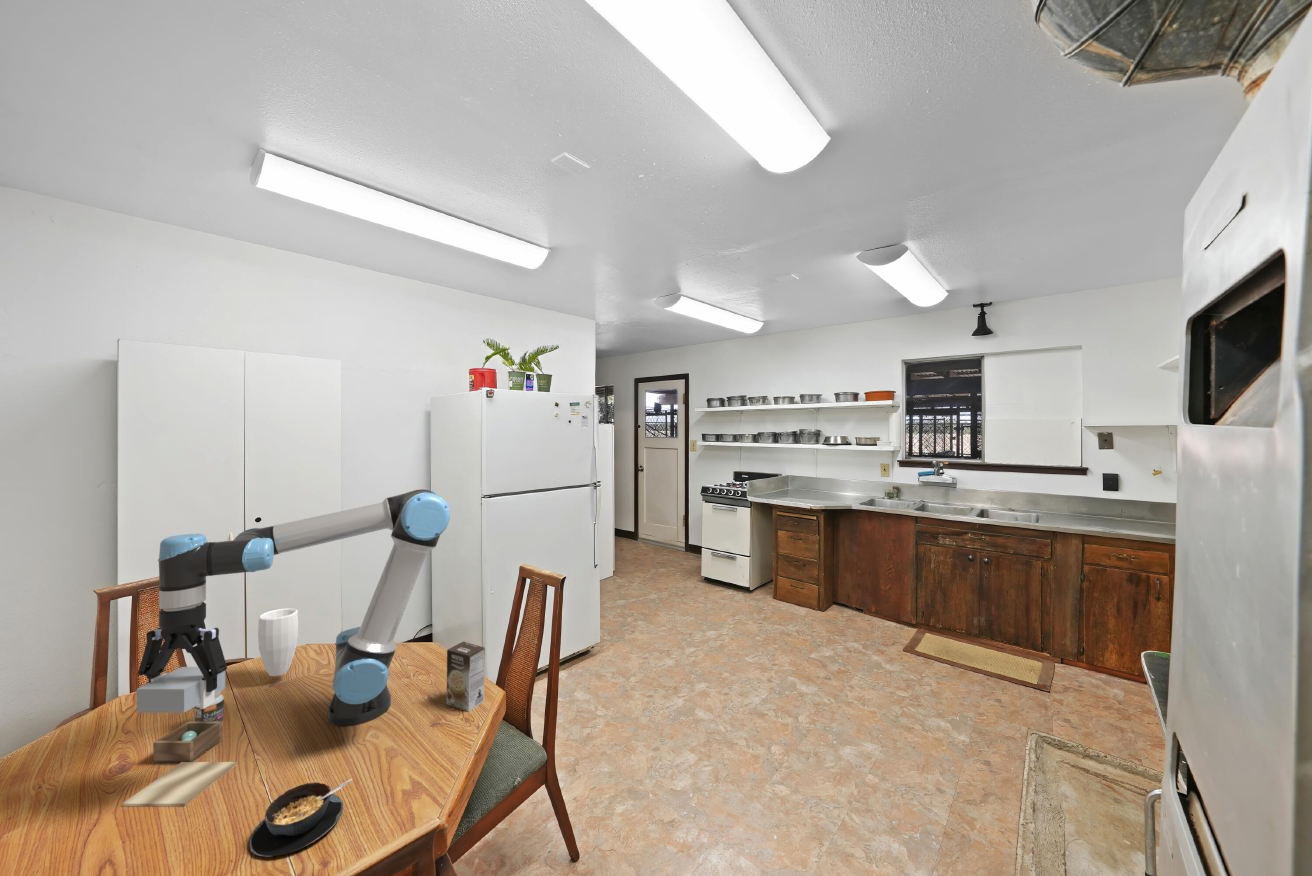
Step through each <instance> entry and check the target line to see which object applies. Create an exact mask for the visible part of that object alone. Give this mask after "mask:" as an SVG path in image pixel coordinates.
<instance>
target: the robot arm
mask: <svg viewBox="0 0 1312 876" xmlns="http://www.w3.org/2000/svg"><path fill="white" fill-rule="evenodd" d="M450 518H451V512H450V507H449V505H448V503H447V501H445V499H443V498H442V497H441V496H440V495H438V494H437V493H435V492H434V491H432V490H428V489H415V490H412V491H408V492H405V493H401V494H398V495H393V496H389V497H385V498H384V500H383V501H382V502H378V503H373V504H369V505H364V506H359V507H355V508H350V509H347V510H346V509H345V510H340V511H336V512H332V513H331V512H330V513H326V514H323V515H317V516H313V517H309V518H308V517H307V518H303V519H299V520H294V521H293V520H292V521H289V522H284V523H281V524H279V523H278V524H274V525H272V526H271V525H270V526H266V527H262V528H261V527H260V528H259V527H253V528H252V527H251V528H248V529H246V530H243V531H242V532H241V533H238V535H236V537H234V538H233V540H224V541H213V542H212V541H208V539H207V536H206V534H202V533H185V534H178V535H172V536H168V537H165V538H163V540H161V541H160V543H159V554H158V560H157V562H158V575H159V576H158V577H159V578H158V579H159V580H158V582H159V585H158V588H159V589H158V590H159V591H158V593H159V594H158V608H160V611H159V612H158V626H159V627H157V628H154V629H152V630H149V631H148V632H146V643H145V648H144V651H143V653H142V658H141V661H140V664H139V668H138V671H137V674H138V675H139V676H146V678H147V680H148V683H150V682H152V681H154V680H156V679H158V678H160V677H162V676H164V675H166V674H168V673H167V672H166V667H167V665H168V663H169V662H170V660H171V657H172V656H173V654H174V653H175V652H176V650H179V649H181V650H185V652H186V653H187V654H190V655H191V657H192V659H193V661H194V663H195V664H196V667H199V669H200V671H201V673H202V674H203V676H204V678H202V679H200V709H204V708H206V707H208V706H209V705H211V704H212V703H214V702H215V691H214V690H215V689H216V688H217V675H218V674H220V673H222V672H223V671H225V672H226V671H227V670H228V665H227V662H226V659H225V656H224V652H223V649H222V646H221V641H220V638H219V635H220V629H219V628H218V627H214V628H212V629H211V628H206V627H205V625H204V621H205V619H206V618H207V603H206V602H205V601H206V599H207V595H206V594H207V577H213V576H214V577H215V576H219V575H220V576H221V575H230V574H241V573H255V572H259V571H265V570H268V569H270V568H271V567H272V566H273V564H274V563H273V562H274V556H276V555H281V554H283V553H288V552H292V551H296V550H301V549H304V548H310V547H313V546H318V545H323V544H327V543H330V542H335V541H339V540H344V539H347V538H351V537H356V536H360V535H364V534H368V533H373V532H377V531H381V530H385V529H388V530H390V531H391V533H390V537H391V539H392V541H393V546H392V548H391V551H390V553H389V555H388V558H387V561H386V563H385V566H384V568H383V571H382V572H381V576H379V577H380V578H379V580H378V583H377V585H376V588H375V590H374V592H373V595H372V598H371V600H370V603H369V604H368V605H369V606H368V607H367V611H366V612H365V615H364V616H363V620H362V622H361V624H360V626H357V627H353V628H348V629H346V630H343V631H340V633H338V634H337V636H336V639H335V643H334V645H335V666H334V675H333V680H332V687H333V691H334V693H333V695H332V699H331V702H330V704H329V708H328V712H327V713H328V714H327V720H328V722H329V723H330V724H331V725H333V726H335V727H336V726H338V727H351V726H356V725H361V724H364V723H368V722H370V721H373V720H374V719H377V718H379V717H381V716H382V715H383V714H385V713H386V712H387V711H388V710H389V709H390V707H391V706H392V697H391V696H392V695H391V693H390V690H389V687H388V684H387V683H388V680H389V675H390V673H389V668H390V666H391V663H392V660H393V658H394V655H395V654H396V653H395V652H396V650H397V644H396V642H395V641H394V640H395V639H394V638H395V636H396V633H397V631H398V628H399V625H400V622H401V621H402V618H403V615H404V612H405V610H406V607H407V605H408V603H409V599H411V595H412V592H413V590H414V587H415V585H416V582H417V580H418V577H419V574H420V572H421V569H422V568H423V565H424V562H425V559H426V556H427V554H428V552H429V551H431V550H433V549H435V548H436V547H437V544H438V542H439V540H440V537H441V535H442V534H444V533H443V532H444V531H446V529H447V527H448V526H449V523H450ZM163 640H164V641H163ZM209 670H211V671H209Z"/></svg>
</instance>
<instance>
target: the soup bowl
mask: <svg viewBox="0 0 1312 876" xmlns="http://www.w3.org/2000/svg"><path fill="white" fill-rule="evenodd" d="M352 781H353V779H352V778H350V779H348V780H346V781H344V782H343V783H341V784H340V785H337V786H336V787H335V788H333V789H331V788H330V786H329V785H327V784H325V783H321V782H317V781H316V782H307V783H304V784H300V785H297V786H295V787H293V788H291V789H289V790H286V791H285V792H284V793H282V794H280V795H278V796H277V798H275V800H273V801H271V803H270V805H269V806H268V807H267V809H266V811H265V813H264V819H262V820H261V822H260V823H259V824H257V826H256V827H255V828H254V830H253V832H252V833H251V835H250V838H249V843H248V847H249V851H250V852H251V853H252V855H254V856H257V857H274V856H283V855H285V854H290V853H293V852H295V851H298V850H301V849H304V847H308V846H310V845H311V844H313V843H315V842H316V841H318V840H320V839H321V838H322V837H323V836H325V835H326V834H327V833H329V832H330V830H331V829H333V828H334V826H336V824H337V823H338V821H339V820H340V818H341V816H342V815H343V811H344V803H343V800H342V799H341V798H340V797H339V795H336V794H334V793H336V792H337V791H339V790H340V789H342V788H344V787H345V786H347V785H348V784H350V783H351V782H352Z"/></svg>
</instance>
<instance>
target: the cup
mask: <svg viewBox="0 0 1312 876" xmlns="http://www.w3.org/2000/svg"><path fill="white" fill-rule="evenodd" d="M257 630H258V631H257V637H258V638H257V639H258V640H257V641H258V650H259V654H260V655H259V656H260V658H261V661H262V664H263V667H264V668H265V670H266V672H267V674H268V675H269V676H270V677H277V676H281V675H285V674H286V673H288V671H289V670H290V667H291V665H292V662H293V660H294V656H295V651H296V647H297V644H298V641H299V640H298V639H299V638H298V637H299V636H298V635H299V611H298V609H296V608H292V607H288V608H278V609H274V610H269V611H266V612H264V613H262V614H261V615H259V617H258V628H257Z"/></svg>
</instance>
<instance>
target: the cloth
mask: <svg viewBox="0 0 1312 876" xmlns="http://www.w3.org/2000/svg"><path fill="white" fill-rule="evenodd" d="M237 765H238V761H193V762H181V763H180V764H176V765H175V766H174V767H173V768H171V769H170V770H168V771H167V772H165V773H164V774H162V775H161V776H159V777H158V778H157V779H155V780H154V781H152V782H151V783H149V784H147V786H145V787H144V788H142V789H141V790H140V791H138V792H137V793H135V794H134V795H132V796H130V797H129V798H127V800H125V801H124V802H122V803H121V807H186V806H187V805H188V804H189V803H191V802H192V801H193V800H195V799H196V798H197V797H199V796H200V795H201V794H202V793H204V792H205V791H206V790H207V789H209V788H210V787H211V786H212V785H213V784H214V783H213V782H215V781H216V780H217V779H218V780H219V778H220V777H221V776H222V777H223V776H225V775H226V774H227V773H229V770H230V769H231V770H232V769H233V768H235V767H236V766H237ZM231 770H230V771H231ZM224 774H225V775H224ZM222 777H221V778H222ZM221 778H220V779H221ZM218 780H217V781H218ZM217 781H216V782H217ZM216 782H215V783H216ZM212 783H213V784H212ZM211 784H212V785H211ZM210 785H211V786H210ZM209 786H210V787H209ZM205 789H206V790H205Z"/></svg>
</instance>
